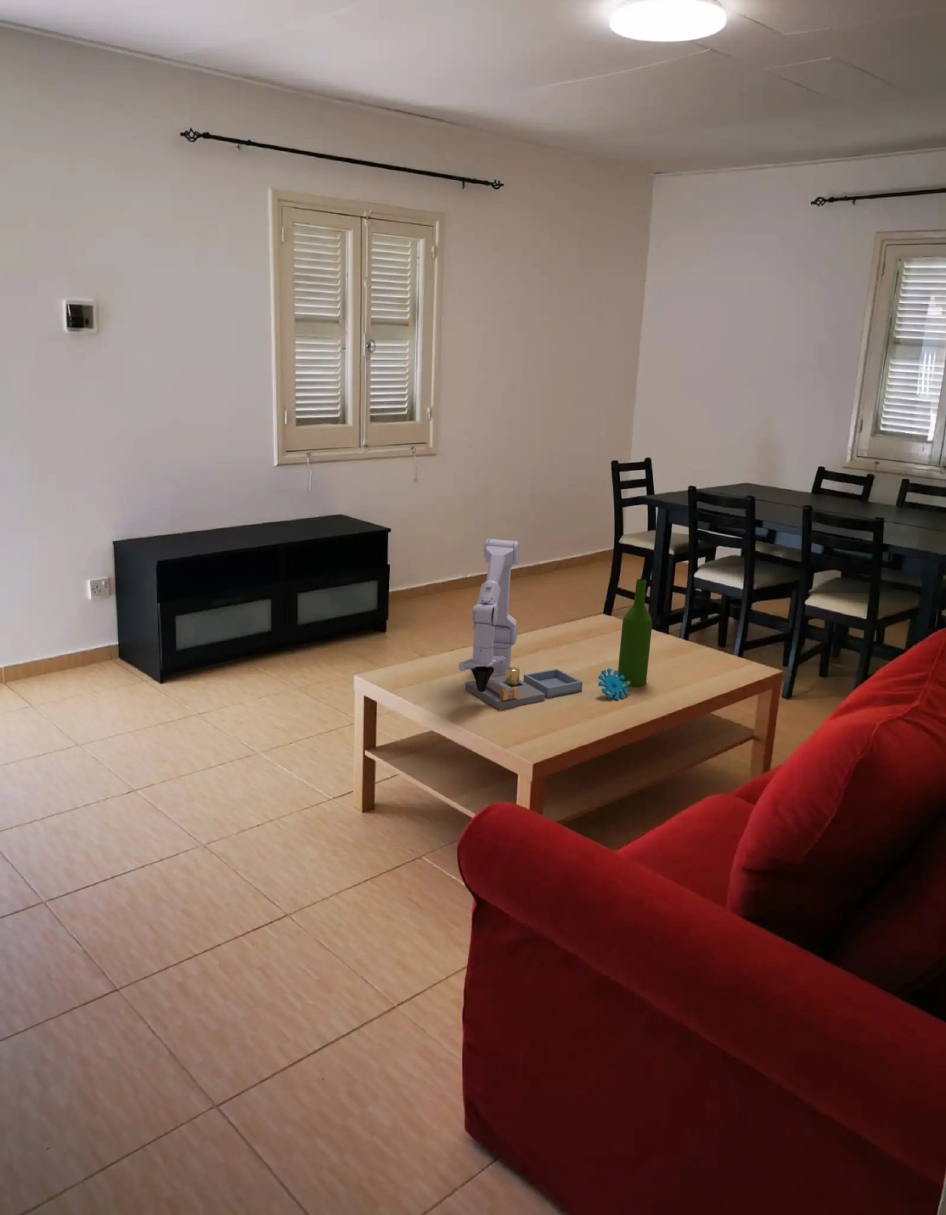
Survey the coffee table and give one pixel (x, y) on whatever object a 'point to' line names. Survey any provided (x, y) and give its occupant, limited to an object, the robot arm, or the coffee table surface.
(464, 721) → the coffee table surface
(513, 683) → the pin
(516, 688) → the lever
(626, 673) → the wine bottle
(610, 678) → the blue spiky round piece
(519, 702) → the crank plate
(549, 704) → the coffee table surface
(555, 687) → the tray
